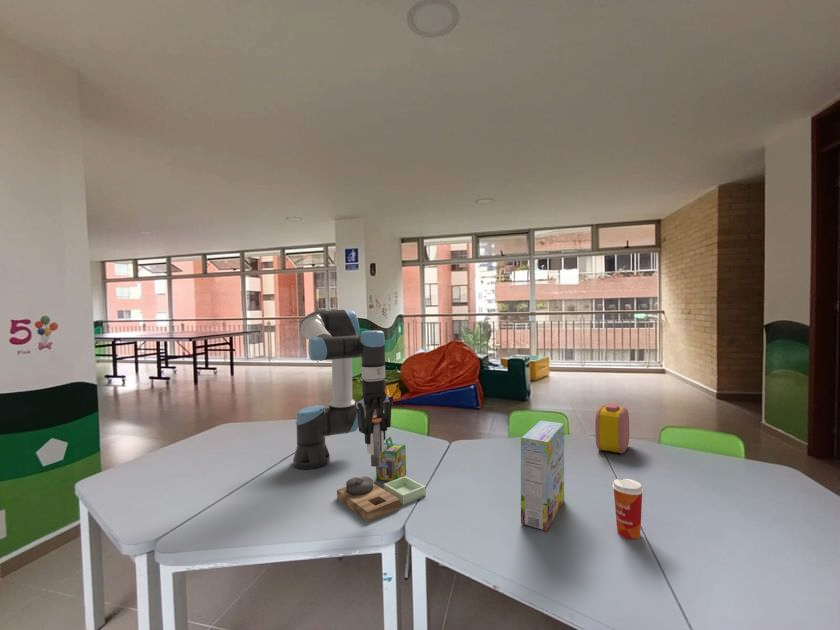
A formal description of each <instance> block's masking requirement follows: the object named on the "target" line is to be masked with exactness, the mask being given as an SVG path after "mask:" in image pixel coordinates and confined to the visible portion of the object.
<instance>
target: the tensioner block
mask: <svg viewBox="0 0 840 630" xmlns="http://www.w3.org/2000/svg"><path fill="white" fill-rule="evenodd" d="M345 485H346V486H344V487H341V488H339V489H337V490H336V496H337V497H336V499H337V500H339V501H340V502H341V503H342V504H344V505H345V506H347V508H349V509H351V510H352V512H354V513H355V514H357V515H359V517H361V518H362V519H363V520H365V521H366V522H368V523H369V522H371V521H374V520H376V519H379V518H381V517H383V516H386V515H388V514H390V513H392V512H395V511H398V510H400V509H401V503H400V499H399V498H397V497H395V496H394V495H392V494H390V493H389V492H387V491H385V490H384V488H381V486H379V485H377V484H376V483H374V481H373V478H371V477H368V476H362V475H359V476H356V477H351V478H349V479H348V480H347V481H346V482H345ZM385 514H386V515H385Z"/></svg>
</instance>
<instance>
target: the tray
mask: <svg viewBox="0 0 840 630" xmlns="http://www.w3.org/2000/svg"><path fill="white" fill-rule="evenodd" d="M383 489H384V490H385V491H387V492H389V493H390V494H392V495H394V496H395V497H397V498H399V499H400V505H407V504H409V503H412V502H413V501H417V500H418V499H421V498H423V496H424V497H426V496H427V490H426V489H427V487H426V485H423V484H422V483H420V482H418V481H415V480H414V479H412V478H410V477H408V476H406V475H404V476H403V477H401V478H399V479H396V480H393V481H387V482H385V483H383Z"/></svg>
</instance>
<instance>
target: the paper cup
mask: <svg viewBox="0 0 840 630" xmlns="http://www.w3.org/2000/svg"><path fill="white" fill-rule="evenodd" d="M612 488H613V495H614V507H615V508H614V509H615V520H616V521H615V522H616V531H617V533H618V535H619V536H621V537H623V538H625V539H629V540H639V539H640V538H641V530H642V528H641V527H642V508H643V507H642V506H643V493H644V492H645V491H644V489H643V487H642V484H641V483H640V482H639V481H636V480H634V479H630V478H619V479H618V478H616V479H615V480H613V483H612Z"/></svg>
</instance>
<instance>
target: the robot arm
mask: <svg viewBox="0 0 840 630" xmlns="http://www.w3.org/2000/svg"><path fill="white" fill-rule="evenodd" d="M359 323H360V322H359V319H358V316H357V314H356V312H355V311H354V310H352V309H351V310H350V309H335V310H334V309H333V310H331V309H330V310H329V309H328V310H316V311H313V312H311V313H308V314H306V316H304V317H303V318H302V320H301V321H300V324H299V331H300V333H301V335H302V336H303V338H305V339H306V340H307V341H308V348H307V349H308V357H309V359H310V360H311V361H319V362H323V361H329V360H331V380H332V381H331V385H332V386H331V387H332V388H331V390H332V391H331V393H332V400H331V401H329V403H328V407H326V408H325V406H324V405H323V404H316V405H310V406H306V407H304V408H301V409H300V410H298V411H297V413H296V414H295V424H296V448H295V452H294V455H293V458H292V466H293V467H294V468H295V469H300V470H314V469H317V468H321V467H325V466H326V465H329V463H330V461H331V455H330V451H329V450H328V449H329V448H328V446H327V444H326V437H330V436H337V435H341V434H342V435H344V434H349V433H354V432H356V431H357V430H358V432H359V433H361V434H363V435H364V444H366V453H368V455H370V456H371V455H374V443H373V434H372V433H371V428H372V419H373V416H374V412H376V416H379V417H382V422H380V443H381V452H384V443H385V441H386V439H387V438H386V432H387V431H388V429H389V428H391V426H392V425H391V423H392V407H393V406H392V403H393V402H394V397H393V396H391V395H388V394H387V393H386V389H387V385H386V384H387V382H386V381H387V380H386V338H385V333H384V331H383V330H373V329H372V330H363V331H361V333H360V324H359ZM356 358H357V359H359V358H361V379H363V380H362V381H361V391H362V397H361V399H360V400H359V401H356V400H355V399H354V398H353V359H356ZM364 407H365V409H364Z"/></svg>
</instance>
